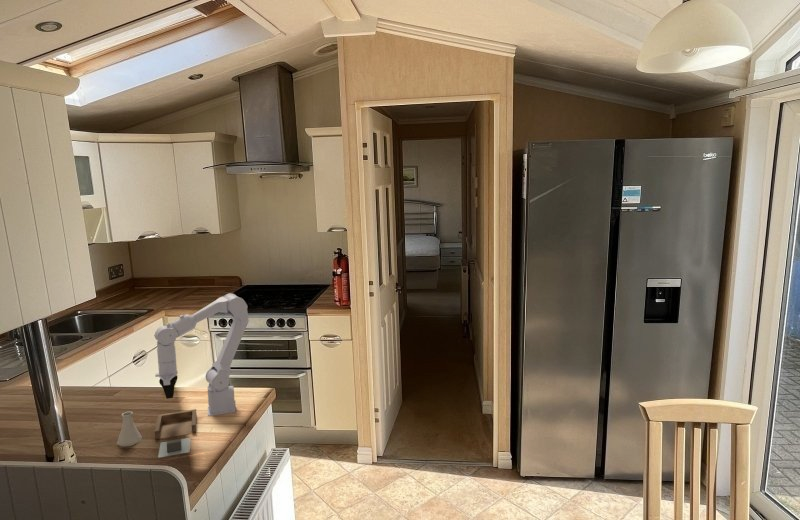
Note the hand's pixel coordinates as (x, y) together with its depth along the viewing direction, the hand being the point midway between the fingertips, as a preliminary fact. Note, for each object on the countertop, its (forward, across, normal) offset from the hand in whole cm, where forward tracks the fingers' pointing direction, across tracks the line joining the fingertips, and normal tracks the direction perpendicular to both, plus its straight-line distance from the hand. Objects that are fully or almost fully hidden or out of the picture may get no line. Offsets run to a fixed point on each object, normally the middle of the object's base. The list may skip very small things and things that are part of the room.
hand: (169, 397), depth 174 cm
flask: (+10, +10, -12) cm, 18 cm away
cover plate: (+10, +20, +2) cm, 22 cm away
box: (+9, +6, +2) cm, 11 cm away
